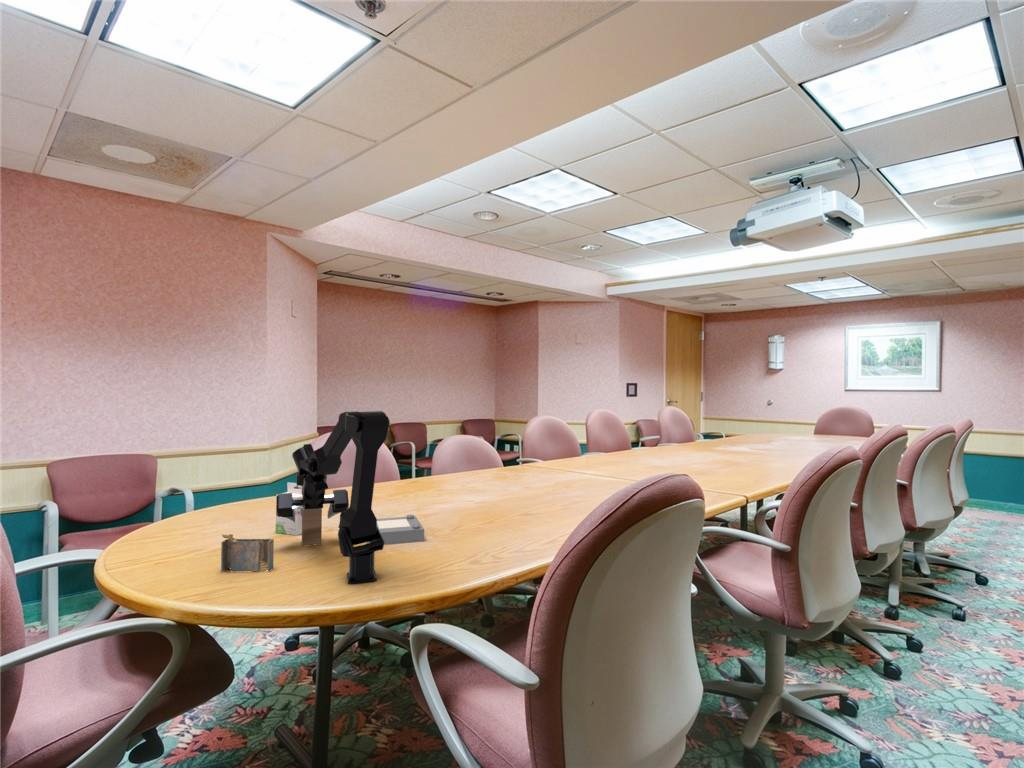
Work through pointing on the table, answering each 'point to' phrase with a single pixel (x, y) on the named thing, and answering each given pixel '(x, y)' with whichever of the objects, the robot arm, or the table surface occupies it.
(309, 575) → the table surface
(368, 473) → the robot arm
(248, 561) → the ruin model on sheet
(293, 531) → the ink box
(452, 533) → the table surface
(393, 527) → the base brick
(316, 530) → the walnut brick
